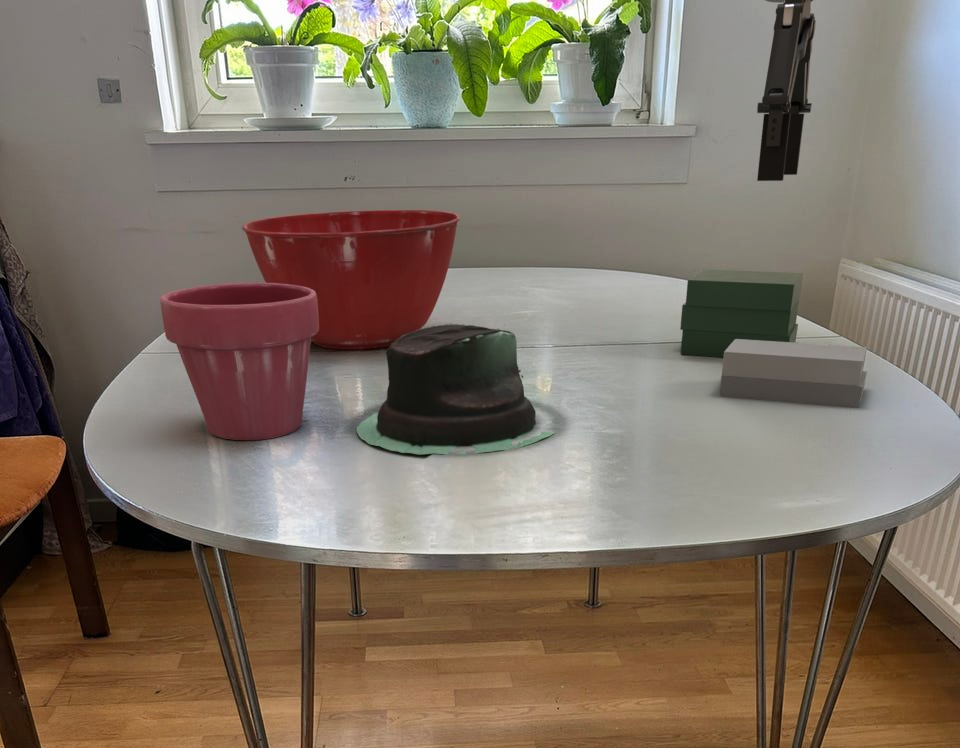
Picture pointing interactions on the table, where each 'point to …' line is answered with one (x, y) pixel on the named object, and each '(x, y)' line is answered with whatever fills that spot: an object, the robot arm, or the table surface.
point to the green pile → (733, 328)
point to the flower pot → (245, 353)
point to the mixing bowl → (360, 268)
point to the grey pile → (794, 372)
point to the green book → (744, 289)
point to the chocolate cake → (452, 393)
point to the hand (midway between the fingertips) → (778, 178)
